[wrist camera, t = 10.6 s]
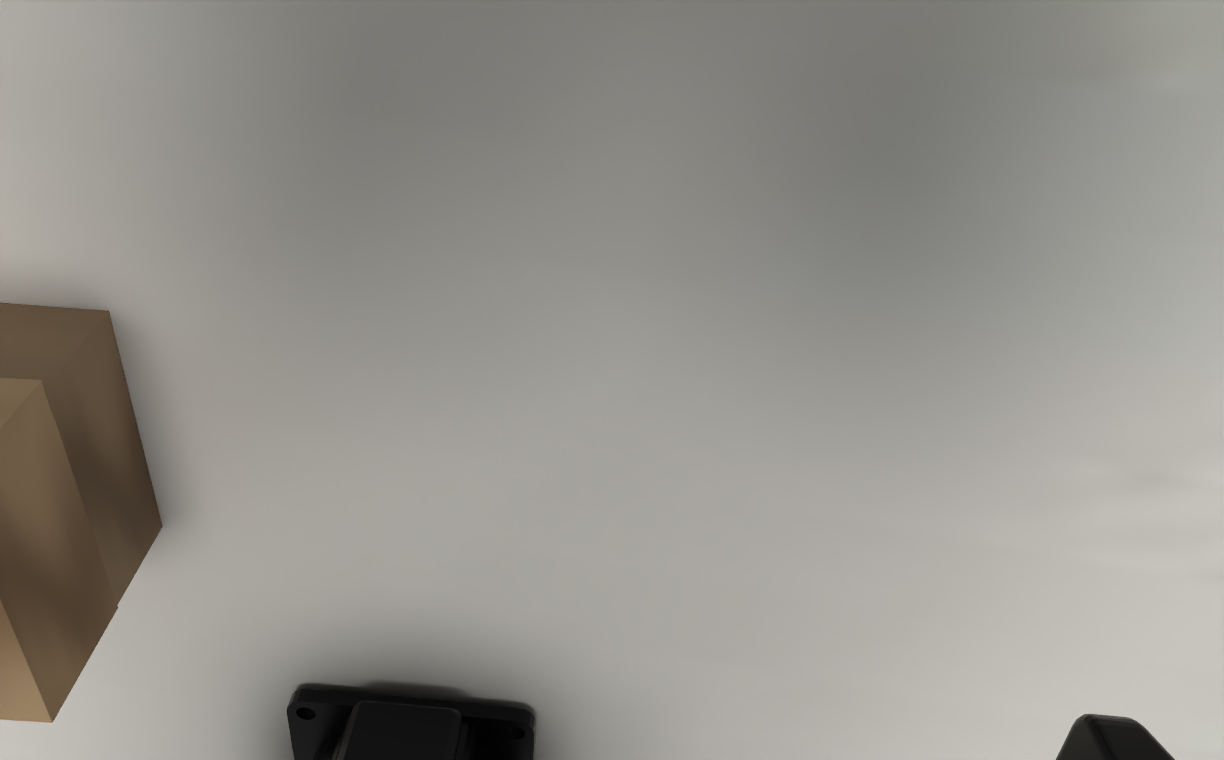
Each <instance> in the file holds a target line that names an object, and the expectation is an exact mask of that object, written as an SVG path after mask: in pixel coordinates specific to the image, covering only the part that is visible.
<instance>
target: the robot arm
mask: <svg viewBox="0 0 1224 760" xmlns="http://www.w3.org/2000/svg"><path fill="white" fill-rule="evenodd" d="M287 716H288V722H289V729H290V735H291V741H292V747H293V754H294V760H534V758H535V736H536V720H535V717H534V716H533V715H532V714H531V713H530V712H528V711H526V710H524V709H519V708H510V707H499V706H488V705H478V704H467V703H456V702H445V701H434V700H423V699H412V698H402V697H391V696H380V695H369V694H358V693H347V692H336V691H326V690H315V689H300V690H298V691H295V692H294V693H293V694H292V696H291V699H290V702H289V705H288V708H287ZM1056 760H1175V759H1174V758H1173V757H1172V756H1171V755H1170V754H1169V753H1168V752H1167V751H1166V750H1165V749H1164V747H1163V746H1162V745H1161V744H1160V743H1159V742H1158V741H1157V740H1156V739H1155V738H1154V737H1153V736H1152V735H1151V734H1150V732H1149V731H1148V730H1147V729H1146V728H1145V727H1144V726H1142V725H1141V724H1140V723H1138V722H1137V721H1135V720H1133V719H1131V718H1126V717H1119V716H1108V715H1097V714H1084V715H1082V716H1081V717H1079V718H1078V719H1076V721H1075V723H1074V724H1073V726H1072V728H1071V730H1070V732H1069V734H1068V736H1067V738H1066V740H1065V742H1064V744H1063V746H1062V748H1061V750H1060V752H1059V754H1058V756H1057V758H1056Z"/></svg>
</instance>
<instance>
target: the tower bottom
mask: <svg viewBox="0 0 1224 760" xmlns="http://www.w3.org/2000/svg"><path fill="white" fill-rule="evenodd" d="M0 378H13V379H32V380H42V383H43V386H44V391H45V394H46V397H47V399H48V402H49V405H50V408H51V411H52V414H53V417H54V419H55V422H56V425H57V428H58V431H59V434H60V437H61V439H62V442H63V445H64V448H65V451H66V454H67V457H68V460H69V463H70V466H71V469H72V472H73V475H74V478H75V481H76V484H77V487H78V490H79V493H80V496H81V499H82V502H83V505H84V508H85V511H86V514H87V517H88V520H89V523H90V526H91V529H92V532H93V535H94V538H95V541H96V544H97V547H98V549H99V552H100V555H101V558H102V561H103V564H104V567H105V570H106V573H107V576H108V579H109V582H110V585H111V588H112V591H113V594H114V597H115V600H116V603H117V605H118V603H119V601H120V600H121V598H122V596H123V594H124V593H125V591H126V589H127V587H128V586H129V584H130V582H131V580H132V579H133V577H134V575H135V573H136V572H137V570H138V568H139V566H140V565H141V563H142V561H143V559H144V558H145V556H146V554H147V552H148V551H149V549H150V547H151V545H152V544H153V542H154V540H155V539H156V537H157V535H158V533H159V532H160V530H161V528H162V523H161V519H160V515H159V511H158V507H157V503H156V499H155V495H154V491H153V487H152V483H151V479H150V475H149V471H148V467H147V463H146V459H145V455H144V451H143V447H142V443H141V439H140V435H139V431H138V427H137V423H136V419H135V415H134V411H133V407H132V403H131V399H130V395H129V391H128V387H127V383H126V379H125V375H124V371H123V367H122V363H121V359H120V355H119V351H118V347H117V343H116V339H115V335H114V331H113V327H112V323H111V319H110V315H109V311H101V310H88V309H75V308H61V307H48V306H35V305H22V304H8V303H0Z"/></svg>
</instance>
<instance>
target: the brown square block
mask: <svg viewBox="0 0 1224 760" xmlns="http://www.w3.org/2000/svg"><path fill="white" fill-rule="evenodd" d="M117 609H118V606H117V603H116V600H115V597H114V594H113V591H112V588H111V585H110V582H109V579H108V576H107V573H106V570H105V567H104V564H103V561H102V558H101V555H100V552H99V549H98V547H97V544H96V541H95V538H94V535H93V532H92V529H91V526H90V523H89V520H88V517H87V514H86V511H85V508H84V505H83V502H82V499H81V496H80V493H79V490H78V487H77V484H76V481H75V478H74V475H73V472H72V469H71V466H70V463H69V460H68V457H67V454H66V451H65V448H64V445H63V442H62V439H61V437H60V434H59V431H58V428H57V425H56V422H55V419H54V417H53V414H52V411H51V408H50V405H49V402H48V399H47V397H46V394H45V391H44V386H43V383H42V380H32V379H13V378H0V719H3V720H18V721H34V722H50V723H52V722H53V721H54V719H55V717H56V715H57V714H58V712H59V710H60V708H61V707H62V705H63V703H64V701H65V700H66V698H67V696H68V694H69V693H70V691H71V689H72V687H73V686H74V684H75V682H76V680H77V679H78V677H79V675H80V673H81V672H82V670H83V668H84V666H85V665H86V663H87V661H88V659H89V658H90V656H91V654H92V652H93V651H94V649H95V647H96V645H97V644H98V642H99V640H100V638H101V637H102V635H103V633H104V631H105V630H106V628H107V626H108V624H109V623H110V621H111V619H112V617H113V616H114V614H115V612H116V610H117Z"/></svg>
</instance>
